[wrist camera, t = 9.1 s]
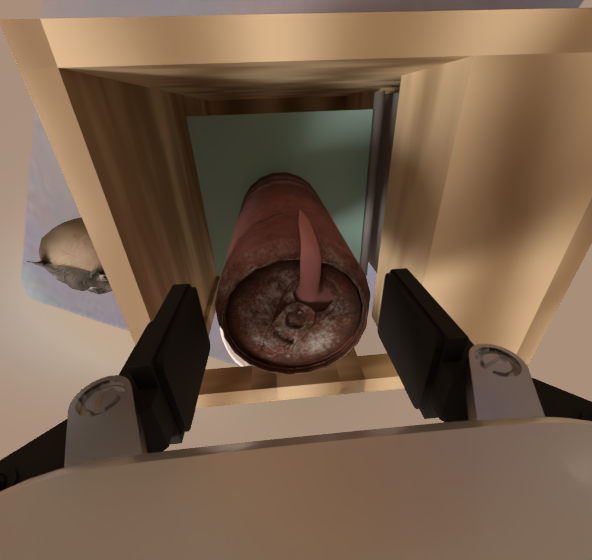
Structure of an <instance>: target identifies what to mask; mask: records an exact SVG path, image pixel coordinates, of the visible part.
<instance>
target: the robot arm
mask: <svg viewBox="0 0 592 560" xmlns="http://www.w3.org/2000/svg"><path fill="white" fill-rule="evenodd" d="M378 334H379V337H380V339H381V341H382V343H383V345H384V347H385V349H386V351H387V353H388V355H389V358H390V360H391V362H392V364H393V366H394V368H395V370H396V372H397V374H398V376H399V378H400V380H401V382H402V384H403V386H404V388H405V390H406V392H407V394H408V396H409V398H410V400H411V402H412V404H413V406H414V407H415V408H416V409H420V411H421V413H422V415H423V417H424V419H427V418H436V417H439V419H440V420H442V421H444V423H435V424H426V425H415V426H404V427H393V428H383V429H373V430H363V431H353V432H343V433H333V434H323V435H314V436H303V437H293V438H284V439H274V440H264V441H255V442H245V443H236V444H227V445H217V446H208V447H199V448H189V449H181V450H172V451H164V450H165V449H166V448H168V447H169V444H178V443H182V440H183V436H184V432H186V431H189V430H190V428H191V424H192V420H193V416H194V412H195V408H196V404H197V400H198V396H199V392H200V388H201V384H202V380H203V376H204V372H205V367H206V364H207V360H208V356H209V351H210V341H209V337H208V332H207V328H206V324H205V320H204V316H203V312H202V308H201V304H200V300H199V296H198V292H197V289H196V287H191V285H190V284H175V285H173V286H172V287H171V289H170V291H169V293H168V295H167V296H166V298H165V300H164V302H163V304H162V305H161V307H160V309H159V311H158V313H157V314H156V316H155V318H154V320H153V321H151V322H149V323H148V325H147V326H146V328H145V330H144V332H143V333H142V335H141V337H140V339H139V340H138V342H137V344H136V346H135V347H134V349H133V351H132V353H131V354H130V356H129V358H128V360H127V361H126V364H125V365H124V367H123V368H122V370H121V372H120V374H119V375H116V376H108V377H105V378H101V379H99V380H97V381H95V382H92V383H91V384H89V385H88V386H86V387H85V388H84V389H82V390H81V391H80V392H79V393H78V394H77V395H76V396H75V397H74V399H73V400H72V402H71V403H70V406H69V409H68V419H66V420H65V421H63V422H62V423H60V424H58V425H57V426H55V427H54V428H52V429H50V430H49V431H47V432H45V433H44V434H42V435H41V436H39V437H37V438H36V439H34V440H33V441H31V442H29V443H28V444H26V445H25V446H23V447H21V448H20V449H18V450H17V451H15V452H13V453H11V454H10V455H8V456H7V457H5V458H4V459H2V460H0V560H592V402H591V401H588V400H586V399H583V398H581V397H578V396H576V395H573V394H571V393H568V392H566V391H563V390H561V389H558V388H556V387H554V386H551V385H549V384H546V383H544V382H541V381H539V380H536V379H534V378H531V375H530V372H529V369H528V367H527V365H526V364H525V362H524V361H523V360H522V359H521V358H520V357H519V356H517V355H516V354H514V353H513V352H511V351H510V350H507V349H505V348H503V347H500V346H497V345H493V344H477V345H474V344H473V343H472V342H471V341H470V340H469V337H468V336H467V335H466V334H465V333H464V332H463V330H462V329H461V328H460V327H459V326H458V325H457V324H456V323H455V321H454V320H453V319H452V318H451V317H450V316H449V315H448V314H447V312H446V311H445V310H444V309H443V308H442V307H441V306H440V305H439V303H438V302H437V301H436V300H435V299H434V298H433V297H432V296H431V295H430V293H429V292H428V291H427V290H426V289H425V288H424V287H423V286H422V284H421V283H420V282H419V281H418V280H417V279H416V278H415V277H414V275H413V274H412V273H411V272H410V271H409V270H408V269H407V268H402V269H391V270H390V272H389V273H386V275H385V279H384V286H383V294H382V301H381V308H380V315H379V322H378Z"/></svg>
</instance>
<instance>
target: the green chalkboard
mask: <svg viewBox="0 0 592 560" xmlns="http://www.w3.org/2000/svg"><path fill="white" fill-rule="evenodd" d="M385 93H386V91H378V92H374V103H373V109H366V110H341V111H315V112H290V113H264V114H239V115H214V116H188V117H186V119H187V124H188V129H189V134H190V139H191V144H192V149H193V154H194V159H195V164H196V169H197V175H198V180H199V185H200V190H201V195H202V200H203V205H204V210H205V215H206V220H207V225H208V230H209V235H210V240H211V245H212V251H213V256H214V261H215V266H216V271H217V276H221V274H222V271H223V268H224V264H225V261H226V257H227V254H228V250H229V247H230V244H231V240H232V237H233V233H234V230H235V226H236V223H237V219H238V216H239V213H240V209H241V206H242V202H243V199H244V196H245V195H246V193H247V191H248V190H249V188H250V186H251V185H253V184H254V183H255V182H256V181H257V180H258V179H260V178H261V177H264V176H266V175H269V174H271V173H281V172H287V173H291V174H294V175H297V176H300V177H301V178H303V179H304V180H305V181H307V182H308V183H310V185H311V186H312V187H313V189H314V190H315V191H316V193H317V194H318V196H319V198H320V199H321V201H322V203H323V204H324V206H325V208H326V209H327V211H328V213H329V214H330V216H331V218H332V220H333V221H334V223H335V225H336V226H337V228H338V230H339V231H340V233H341V235H342V236H343V238H344V240H345V241H346V243H347V245H348V246H349V248H350V250H351V251H352V253H353V255H354V256H355V258H356V260H357V262H358V263H359V265H360V267H361V268H362V270H363V272H364V273H365V275H367V268H368V261H369V262H370V264H371V265H372V267H373V268H374V270H375V271H376V273H377V269H378V261H379V253H380V245H381V237H382V229H383V221H384V213H385V205H386V197H387V189H388V180H389V172H390V164H391V156H392V148H393V140H394V132H395V124H396V116H397V108H398V100H399V93H393V94H386V95H385Z"/></svg>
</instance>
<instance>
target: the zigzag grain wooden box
mask: <svg viewBox="0 0 592 560" xmlns="http://www.w3.org/2000/svg"><path fill="white" fill-rule="evenodd" d="M0 25H1V27H2V30H3V32H4V34H5V37H6V39H7V41H8V44H9V46H10V48H11V51H12V53H13V56H14V58H15V60H16V63H17V65H18V68H19V70H20V72H21V75H22V77H23V79H24V82H25V84H26V87H27V89H28V91H29V93H30V96H31V98H32V101H33V103H34V106H35V108H36V110H37V113H38V115H39V117H40V120H41V122H42V125H43V127H44V129H45V132H46V134H47V136H48V139H49V141H50V143H51V146H52V148H53V151H54V153H55V155H56V158H57V160H58V162H59V165H60V167H61V170H62V172H63V174H64V177H65V179H66V181H67V184H68V186H69V189H70V191H71V193H72V196H73V198H74V200H75V203H76V205H77V208H78V210H79V212H80V215H81V217H82V219H83V222H84V224H85V226H86V229H87V231H88V234H89V236H90V238H91V241H92V243H93V245H94V248H95V250H96V253H97V255H98V257H99V260H100V262H101V264H102V267H103V269H104V272H105V274H106V276H107V279H108V281H109V283H110V286H111V288H112V291H113V293H114V295H115V298H116V300H117V302H118V305H119V307H120V309H121V312H122V314H123V317H124V319H125V321H126V324H127V326H128V328H129V331H130V333H131V336H132V338H133V340H134V343H135V345H136V344H137V342H138V340H139V339H140V337H141V335H142V333H143V332H144V330H145V328H146V326H147V325H148V323H149V322H151V321H153V320H154V318H155V316H156V314H157V313H158V311H159V309H160V307H161V305H162V304H163V302H164V300H165V298H166V296H167V295H168V293H169V291H170V289H171V287H172V286H173V285H175V284H190V285H191V287H196V289H197V292H198V296H199V300H200V304H201V308H202V312H203V316H204V320H205V324H206V328H207V332H208V337H209V333H210V329H211V325H212V322H213V318H214V314H215V310H216V308H215V301H216V296H217V291H218V285H219V281H220V278H221V276H217V271H216V266H215V261H214V256H213V251H212V245H211V240H210V235H209V230H208V225H207V220H206V215H205V210H204V205H203V200H202V195H201V190H200V185H199V180H198V175H197V169H196V164H195V159H194V154H193V149H192V144H191V139H190V134H189V129H188V124H187V119H186V117H188V116H214V115H239V114H264V113H290V112H315V111H341V110H366V109H373V103H374V92H378V91H386V93H385V95H386V94H393V93H399V100H398V108H397V116H396V124H395V132H394V140H393V148H392V156H391V164H390V172H389V180H388V189H387V197H386V205H385V213H384V221H383V229H382V237H381V245H380V253H379V261H378V269H377V278H376V286H375V294H374V302H373V310H372V317H373V319H374V321H375V323H376V325H377V327H378V322H379V315H380V308H381V301H382V294H383V286H384V279H385V275H386V273H389V272H390V270H391V269H402V268H407V269H408V270H409V271H410V272H411V273H412V274H413V275H414V277H415V278H416V279H417V280H418V281H419V282H420V283H421V284H422V286H423V287H424V288H425V289H426V290H427V291H428V292H429V293H430V295H431V296H432V297H433V298H434V299H435V300H436V301H437V302H438V303H439V305H440V306H441V307H442V308H443V309H444V310H445V311H446V312H447V314H448V315H449V316H450V317H451V318H452V319H453V320H454V321H455V323H456V324H457V325H458V326H459V327H460V328H461V329H462V330H463V332H464V333H465V334H466V335H467V336H468V337H469V340H470V341H471V342H472V343H473V344H474V345H477V344H493V345H497V346H500V347H503V348H505V349H507V350H510V351H511V352H513V353H514V354H516V355H517V356H519V357H520V358H521V359H522V360H523V361H524V362H525V364H526V365H528V364H529V362H530V360H531V358H532V356H533V354H534V352H535V351H536V348H537V347H538V345H539V343H540V341H541V339H542V337H543V335H544V333H545V331H546V330H547V328H548V326H549V324H550V322H551V320H552V318H553V316H554V314H555V312H556V310H557V308H558V307H559V305H560V303H561V301H562V299H563V297H564V295H565V293H566V291H567V289H568V287H569V285H570V284H571V282H572V280H573V278H574V276H575V274H576V272H577V270H578V268H579V266H580V264H581V263H582V261H583V259H584V257H585V255H586V253H587V251H588V249H589V247H590V245H591V243H592V8H558V9H509V10H459V11H409V12H359V13H310V14H260V15H210V16H160V17H111V18H61V19H14V20H13V19H11V20H0ZM368 262H369V261H368ZM401 388H404V386H403V384H402V382H401V380H400V378H399V376H398V374H397V372H396V370H395V368H394V366H393V364H392V362H391V360H390V358H389V355H388V354H379V355H367V356H357V355H356V352H355V349H354V348H353V349H352V350H351V351H350V352H349V353H348V354H347V355H346V356H345V357H344V358H342V359H340V360H338V361H337V362H335V363H333V364H332V365H330V366H328V367H326V368H323V369H320V370H316V371H313V372H310V373H304V374H292V375H285V374H278V373H271V372H266V371H264V370H261V369H259V368H256V367H254V366H242V367H231V368H221V369H220V368H219V369H208V370H205V372H204V376H203V380H202V384H201V388H200V392H199V396H198V400H197V404H196V408H203V407H212V406H223V405H234V404H245V403H255V402H266V401H276V400H287V399H297V398H308V397H318V396H328V395H339V394H348V393H360V392H370V391H381V390H391V389H401Z"/></svg>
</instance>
